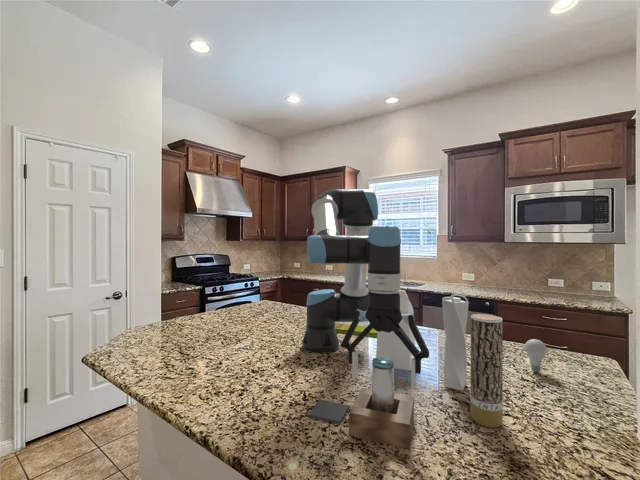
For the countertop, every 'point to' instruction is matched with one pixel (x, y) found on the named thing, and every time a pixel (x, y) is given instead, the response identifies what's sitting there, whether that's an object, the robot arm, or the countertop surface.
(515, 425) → the countertop surface
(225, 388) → the countertop surface
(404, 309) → the milk
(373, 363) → the teal-capped metal cylinder
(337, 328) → the dish towel
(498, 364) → the bark-print cylinder
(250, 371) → the countertop surface
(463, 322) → the skyscraper
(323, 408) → the mat
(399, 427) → the housing
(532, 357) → the lightbulb
